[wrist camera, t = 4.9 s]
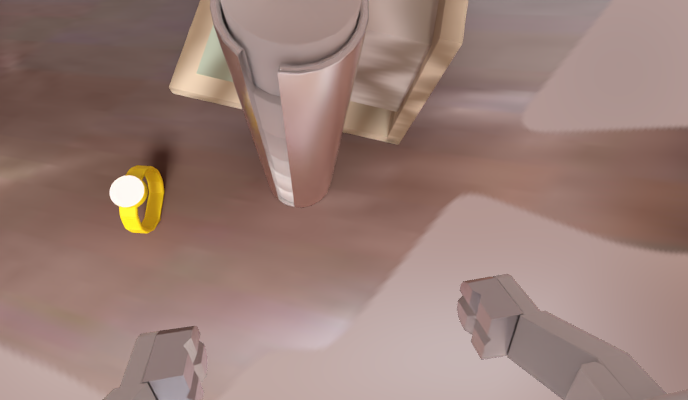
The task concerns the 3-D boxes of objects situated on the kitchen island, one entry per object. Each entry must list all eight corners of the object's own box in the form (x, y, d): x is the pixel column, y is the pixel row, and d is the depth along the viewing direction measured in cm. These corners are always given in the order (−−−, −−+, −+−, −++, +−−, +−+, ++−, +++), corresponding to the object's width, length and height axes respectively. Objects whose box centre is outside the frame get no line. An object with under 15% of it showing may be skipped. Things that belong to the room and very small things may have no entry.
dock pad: (172, 93, 39) (168, 86, 38) (205, 0, 42) (202, -9, 41) (285, 118, 40) (284, 113, 38) (309, 25, 43) (309, 17, 41)
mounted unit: (335, 130, 40) (356, 17, 24) (357, 30, 43) (389, -131, 27) (401, 145, 40) (468, 45, 24) (419, 44, 44) (487, -105, 27)
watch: (166, 235, 36) (138, 230, 30) (136, 234, 36) (103, 228, 30) (174, 175, 37) (149, 159, 31) (145, 173, 37) (114, 156, 31)
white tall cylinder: (255, 170, 38) (167, -42, 14) (306, 136, 39) (309, -109, 15) (292, 220, 37) (268, 89, 13) (343, 184, 39) (407, 4, 14)
